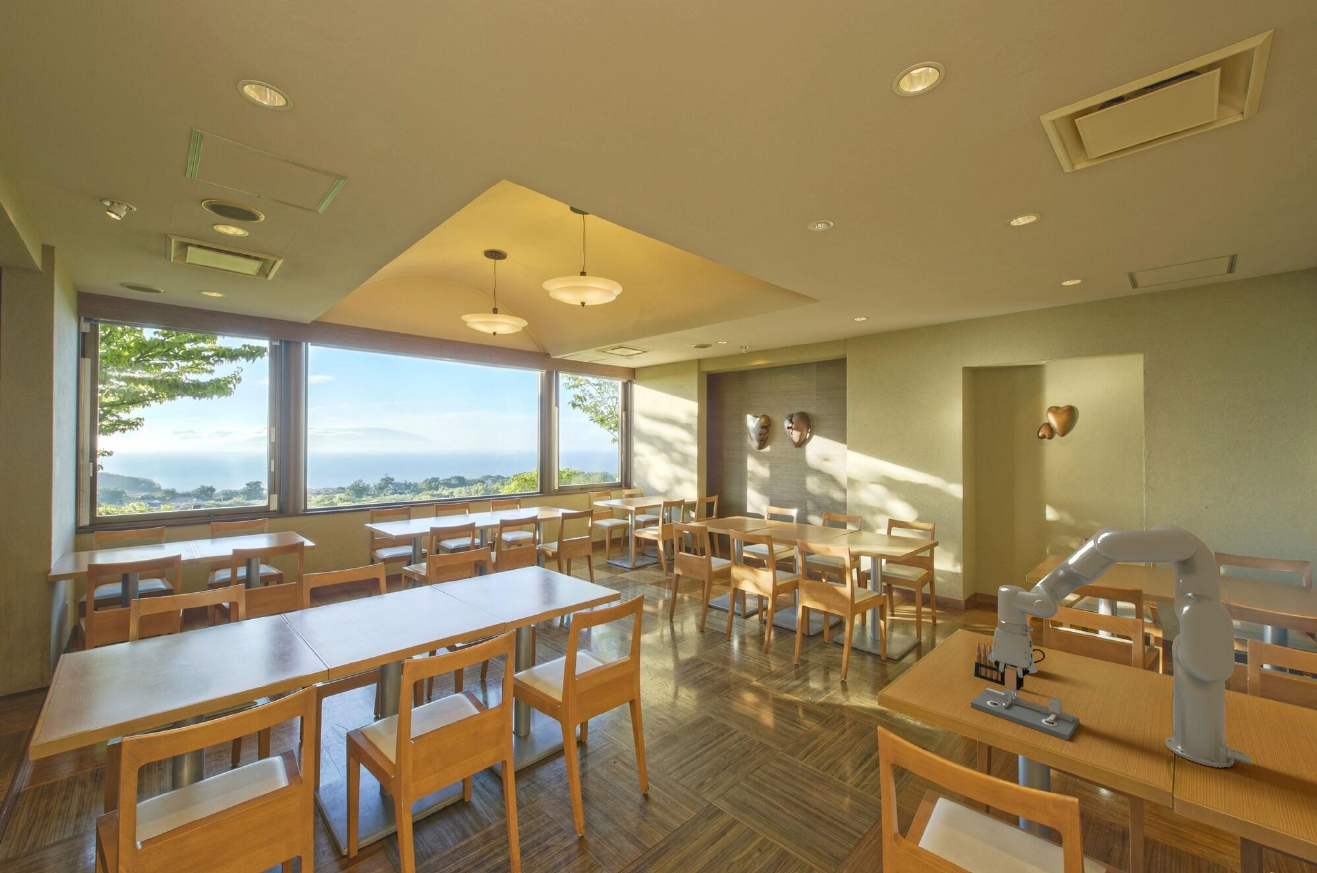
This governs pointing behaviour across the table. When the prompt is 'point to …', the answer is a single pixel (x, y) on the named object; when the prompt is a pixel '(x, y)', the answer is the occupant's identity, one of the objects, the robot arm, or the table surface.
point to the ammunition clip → (986, 666)
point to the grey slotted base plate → (1029, 713)
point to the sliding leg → (1010, 685)
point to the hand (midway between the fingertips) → (1011, 685)
